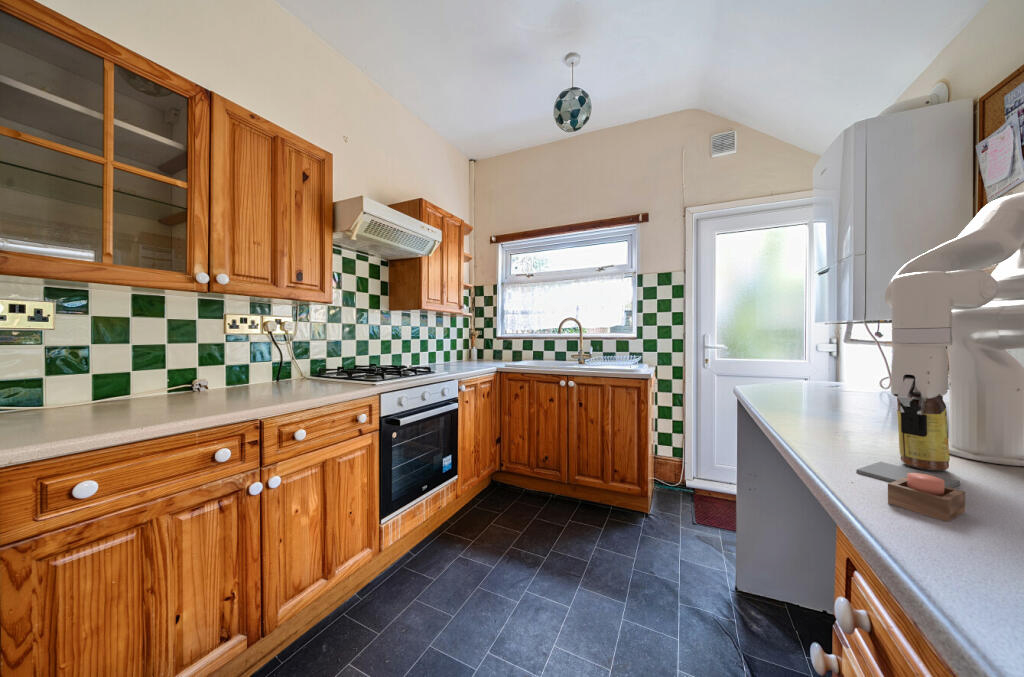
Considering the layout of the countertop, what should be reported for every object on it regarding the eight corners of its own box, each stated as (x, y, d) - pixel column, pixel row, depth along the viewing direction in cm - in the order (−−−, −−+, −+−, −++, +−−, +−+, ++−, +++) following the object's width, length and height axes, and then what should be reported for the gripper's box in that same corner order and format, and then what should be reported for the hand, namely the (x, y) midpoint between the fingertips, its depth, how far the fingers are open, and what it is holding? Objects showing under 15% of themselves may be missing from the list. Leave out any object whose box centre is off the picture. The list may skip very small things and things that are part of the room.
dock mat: (880, 464, 70) (880, 461, 69) (960, 483, 60) (960, 480, 60) (856, 472, 66) (856, 469, 66) (937, 494, 57) (937, 490, 57)
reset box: (906, 495, 57) (906, 476, 57) (965, 512, 51) (965, 491, 51) (887, 503, 54) (887, 483, 54) (947, 521, 49) (947, 500, 49)
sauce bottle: (960, 472, 64) (958, 363, 64) (919, 471, 65) (916, 364, 65) (926, 459, 70) (924, 359, 70) (889, 458, 72) (886, 360, 71)
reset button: (913, 486, 55) (913, 471, 55) (948, 496, 52) (948, 479, 52) (902, 491, 54) (902, 475, 54) (938, 501, 50) (938, 484, 50)
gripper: (913, 336, 74) (914, 421, 75) (871, 339, 67) (873, 433, 68) (970, 335, 67) (971, 430, 68) (930, 340, 60) (931, 444, 61)
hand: (922, 431), depth 68 cm, fingers closed on sauce bottle, 6 cm apart
